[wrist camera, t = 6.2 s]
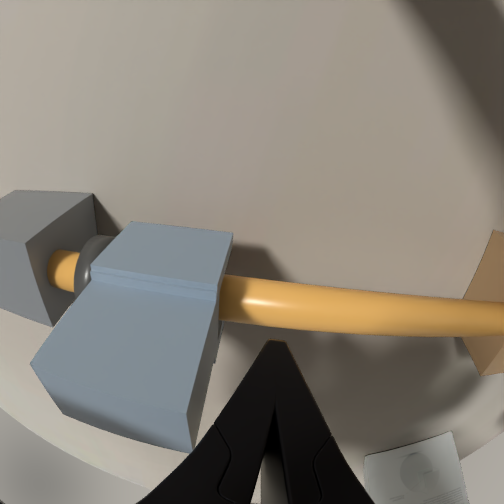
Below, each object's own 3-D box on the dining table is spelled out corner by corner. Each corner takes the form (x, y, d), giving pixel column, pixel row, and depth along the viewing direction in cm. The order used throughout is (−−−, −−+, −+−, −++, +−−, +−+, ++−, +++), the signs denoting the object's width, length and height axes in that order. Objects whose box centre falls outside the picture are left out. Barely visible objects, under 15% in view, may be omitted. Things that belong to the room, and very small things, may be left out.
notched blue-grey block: (233, 232, 11) (184, 400, 5) (227, 305, 13) (194, 459, 7) (131, 221, 11) (21, 349, 5) (139, 291, 13) (69, 422, 7)
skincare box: (362, 470, 27) (367, 541, 18) (364, 454, 24) (371, 539, 15) (440, 449, 25) (453, 517, 16) (453, 429, 22) (472, 507, 13)
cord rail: (531, 241, 11) (581, 290, 7) (492, 320, 14) (524, 376, 10) (12, 173, 12) (-53, 210, 8) (31, 264, 15) (-16, 314, 11)
